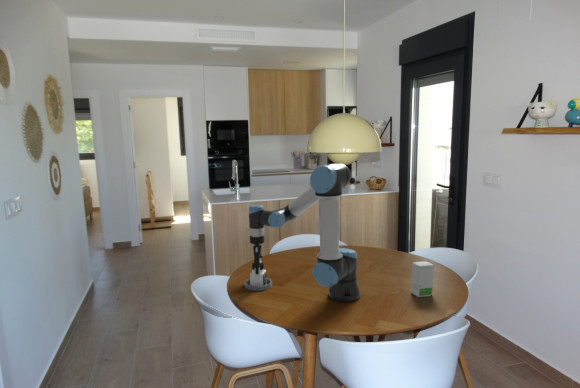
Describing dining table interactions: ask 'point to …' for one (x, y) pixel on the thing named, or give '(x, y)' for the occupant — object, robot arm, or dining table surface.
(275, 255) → the dining table surface
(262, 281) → the medicine bottle
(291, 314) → the dining table surface
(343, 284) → the robot arm
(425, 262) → the skincare box
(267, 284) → the dish
